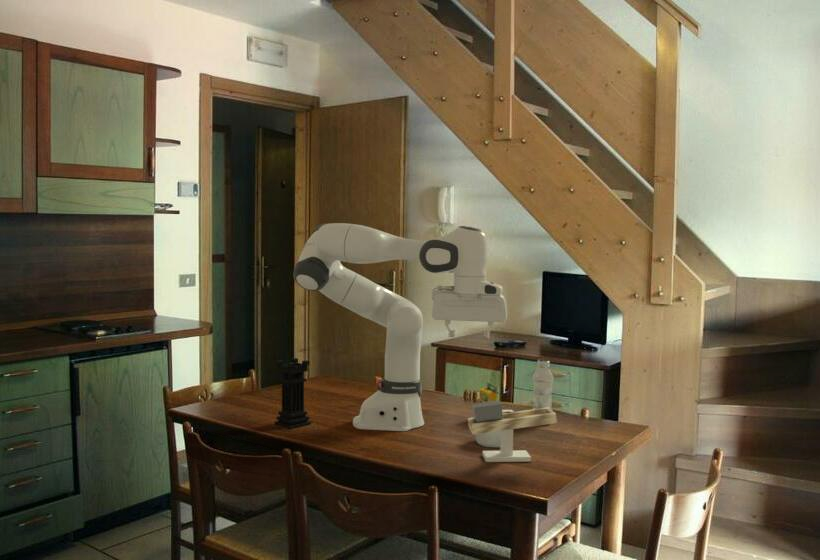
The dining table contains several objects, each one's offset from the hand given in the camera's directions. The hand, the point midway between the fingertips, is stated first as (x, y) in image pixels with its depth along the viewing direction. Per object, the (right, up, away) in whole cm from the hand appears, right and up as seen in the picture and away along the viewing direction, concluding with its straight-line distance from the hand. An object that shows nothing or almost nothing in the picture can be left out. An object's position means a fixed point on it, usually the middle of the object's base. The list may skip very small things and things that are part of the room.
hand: (469, 337), depth 203 cm
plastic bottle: (+26, -30, +37) cm, 54 cm away
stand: (+10, -32, -1) cm, 34 cm away
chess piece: (-52, -30, +31) cm, 68 cm away
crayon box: (+9, -30, +38) cm, 49 cm away
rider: (+5, -22, -8) cm, 23 cm away
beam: (+11, -22, -7) cm, 26 cm away
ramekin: (+8, -32, +13) cm, 35 cm away
